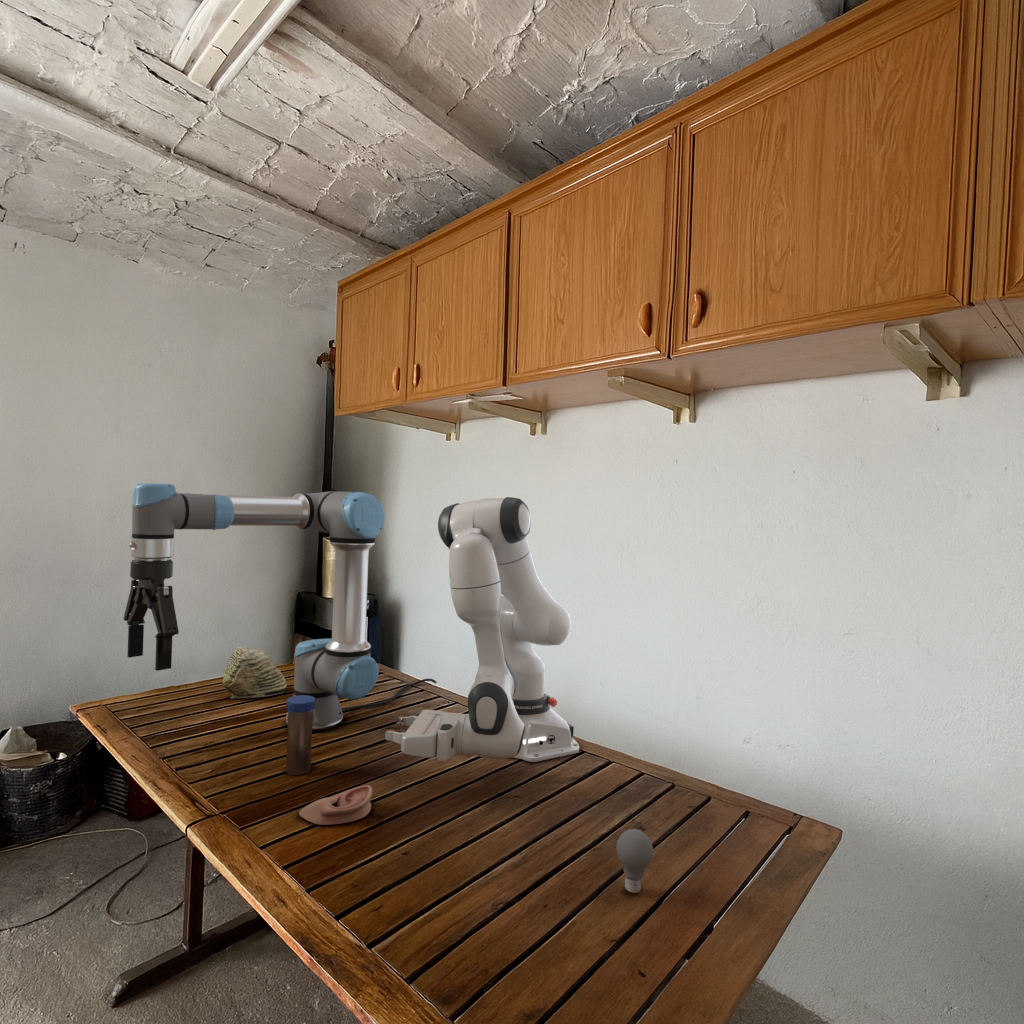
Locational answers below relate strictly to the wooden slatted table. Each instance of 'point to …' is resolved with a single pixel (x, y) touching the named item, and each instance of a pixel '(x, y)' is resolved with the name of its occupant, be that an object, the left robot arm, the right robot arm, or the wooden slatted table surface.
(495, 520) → the right robot arm
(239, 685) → the fossil
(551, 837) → the wooden slatted table surface
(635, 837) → the light bulb
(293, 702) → the lid
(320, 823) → the anatomical model
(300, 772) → the jar
